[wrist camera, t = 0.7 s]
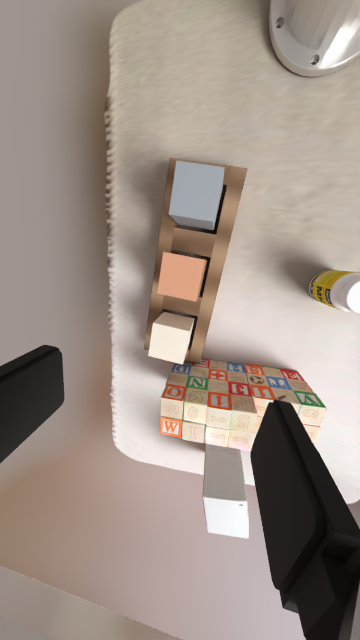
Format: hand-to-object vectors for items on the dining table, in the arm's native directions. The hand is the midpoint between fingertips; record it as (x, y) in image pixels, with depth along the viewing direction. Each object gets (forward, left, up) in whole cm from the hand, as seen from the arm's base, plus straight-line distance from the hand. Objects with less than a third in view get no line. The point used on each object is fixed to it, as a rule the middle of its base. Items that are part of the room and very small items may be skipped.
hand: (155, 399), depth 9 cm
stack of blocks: (+13, +9, -26) cm, 31 cm away
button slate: (-13, -2, -22) cm, 26 cm away
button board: (-4, -2, -26) cm, 26 cm away
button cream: (+5, -2, -22) cm, 23 cm away
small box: (+28, +11, -26) cm, 40 cm away
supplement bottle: (-6, +18, -26) cm, 32 cm away
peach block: (-4, -2, -22) cm, 23 cm away
